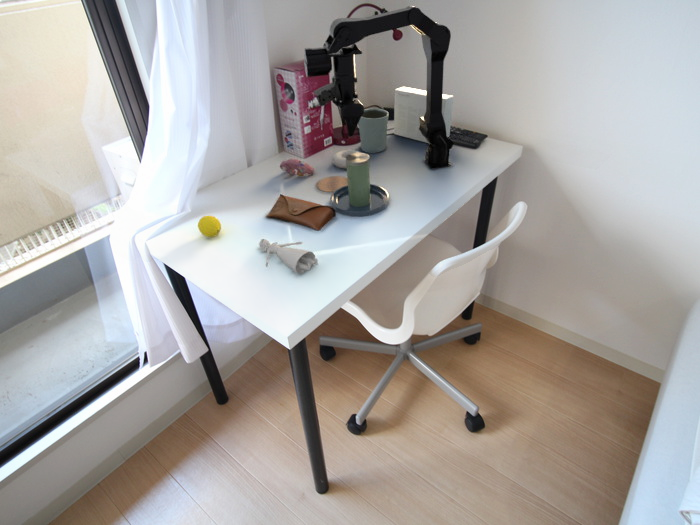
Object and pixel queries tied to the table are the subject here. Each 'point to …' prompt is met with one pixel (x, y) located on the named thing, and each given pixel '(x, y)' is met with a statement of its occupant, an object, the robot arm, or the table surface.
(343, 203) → the plate
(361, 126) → the grey-green cup
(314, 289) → the table surface
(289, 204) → the sunglasses case
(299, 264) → the woman figurine
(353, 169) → the tea tin
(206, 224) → the lemon
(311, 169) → the video game controller
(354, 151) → the donut
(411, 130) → the skincare box
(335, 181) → the coaster
